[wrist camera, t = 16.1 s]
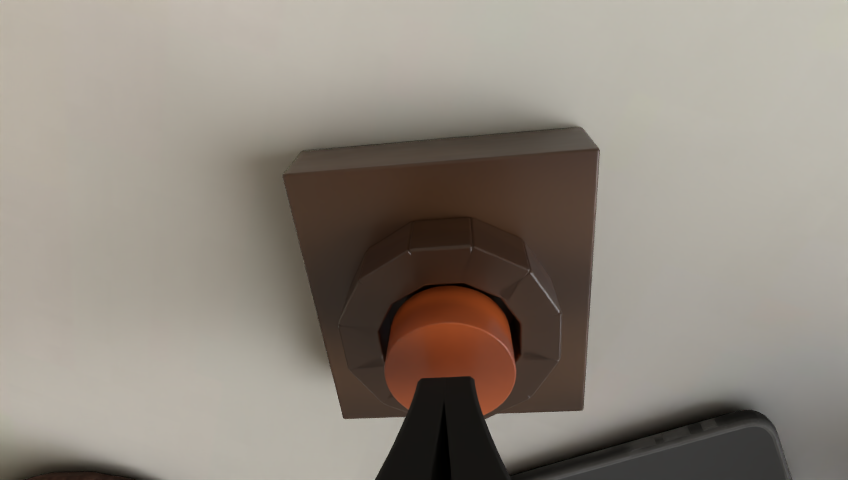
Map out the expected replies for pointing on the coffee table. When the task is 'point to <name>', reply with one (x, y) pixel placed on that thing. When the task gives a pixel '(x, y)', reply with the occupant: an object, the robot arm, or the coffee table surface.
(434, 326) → the button
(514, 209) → the button block
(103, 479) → the mug
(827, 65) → the coffee table surface
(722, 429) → the smartphone
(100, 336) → the coffee table surface
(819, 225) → the coffee table surface
